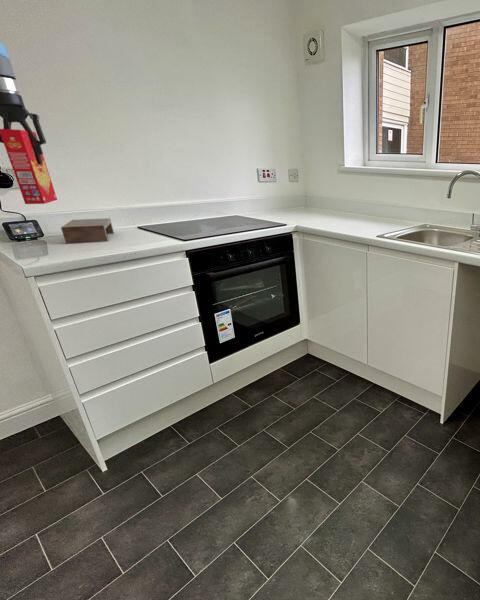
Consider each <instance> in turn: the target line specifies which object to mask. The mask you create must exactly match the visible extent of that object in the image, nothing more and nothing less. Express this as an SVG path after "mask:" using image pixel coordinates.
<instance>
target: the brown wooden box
mask: <svg viewBox="0 0 480 600" xmlns="http://www.w3.org/2000/svg"><path fill="white" fill-rule="evenodd" d="M113 227H114V226H113V224H112V220H111V218H110V217H109V218H84V219H83V218H82V219H71V220H70V221H69V222H67V223H65V224H64V225H62V226H61V227H60V229H61V233H62V236H63V239H64V242H65V245H68V244H85V242H86V243H99V242H101V241H102V242H108V241H109V238H108V234H114V233H115V231H114V228H113Z"/></svg>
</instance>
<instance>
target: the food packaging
mask: <svg viewBox="0 0 480 600" xmlns="http://www.w3.org/2000/svg"><path fill="white" fill-rule="evenodd" d="M32 132H33V133H34V135H35V136H36V138H37V139H38V140H39V138H38V135H37V132H36V131H32ZM0 134H1V137H2V140H3V143H2V144H3V146H4V148H5V150H6V154H7V157H8V159H9V162H10V166H11V168H12V171H13V174H14V177H15V179H16V182H17V185H18V187H19V188H18V189H19V190H20V193H21V196H22V200H23V202H24V204H25V205H41V204H42V205H45V204H49V203H52V202H55V201H57V200H58V198H57V197H58V196H57V194H56V192H55V188H54V185H53V181H52V179H51V176H50V172H49V169H48V166H47V163H46V161H45V157H44V154H43V155H40V157H41V160H42V163H43V164H38V163H37V160H36V156H35V153H34V150H33V147H32V145H34V143H33V141H32V140H31V138H30V137H29V135H28V133H27V131H25V129H12V128H11V129H3V128H0Z"/></svg>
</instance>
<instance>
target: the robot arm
mask: <svg viewBox="0 0 480 600" xmlns="http://www.w3.org/2000/svg"><path fill="white" fill-rule="evenodd" d="M20 93H21V90H20V88H19V84H18V81H17V78H16V76H15V72H14V69H13V65H12V61H11V58H10V57H9V54H8V51H7V49H6V46H5V44H3V43H2V42H0V117H1V118H2V124H3V128H2V129H12V124H13V123H18V124H20V125H21V127H22V128H23V130H24V131H27V133H28V135H29V137H30V138H31V140H32V141H33V143H34V145H32V147H33V150H34V153H35V156H36V160H37V163H38V164H43V163H42V160H41V157H40V155H43V156H44V152H43V149H42V145H46V144H47V140H46V138H45V134H44V133H43V129H42V126H41V123H40V115H39V114H36V113H32V112H29V110H27V108H26V106H25V103H24V100H23V97H22V95H20ZM28 117H29V118H30V119H31V120H32V124H33V127H34V129H35V132H36V135H37V138H38V139H37V138H36V136H35V135H34V133H33V132H34V131H33V130H32V129H31V127H30V125H29V123H28V122H27V121H26V120H27V119H28ZM0 143H2V144H4V143H3V140H2V137H1V134H0Z"/></svg>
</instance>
